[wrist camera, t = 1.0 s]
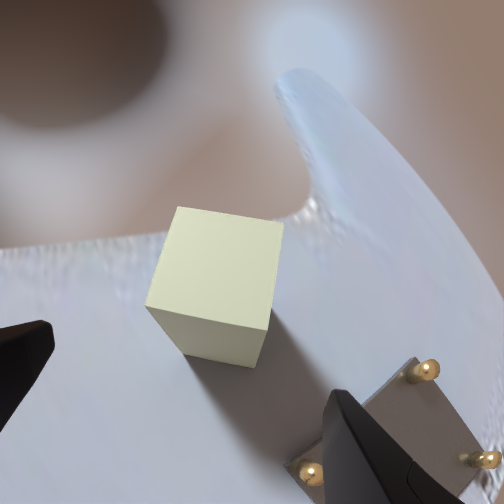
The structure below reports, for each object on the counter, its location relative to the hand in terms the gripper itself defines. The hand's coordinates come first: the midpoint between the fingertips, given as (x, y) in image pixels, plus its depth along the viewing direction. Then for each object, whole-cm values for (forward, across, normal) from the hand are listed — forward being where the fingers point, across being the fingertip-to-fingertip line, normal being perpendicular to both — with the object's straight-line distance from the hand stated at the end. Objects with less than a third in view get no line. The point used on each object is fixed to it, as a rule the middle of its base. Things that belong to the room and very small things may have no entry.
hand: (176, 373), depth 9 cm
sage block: (+13, 0, +5) cm, 14 cm away
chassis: (+6, -14, +12) cm, 19 cm away
